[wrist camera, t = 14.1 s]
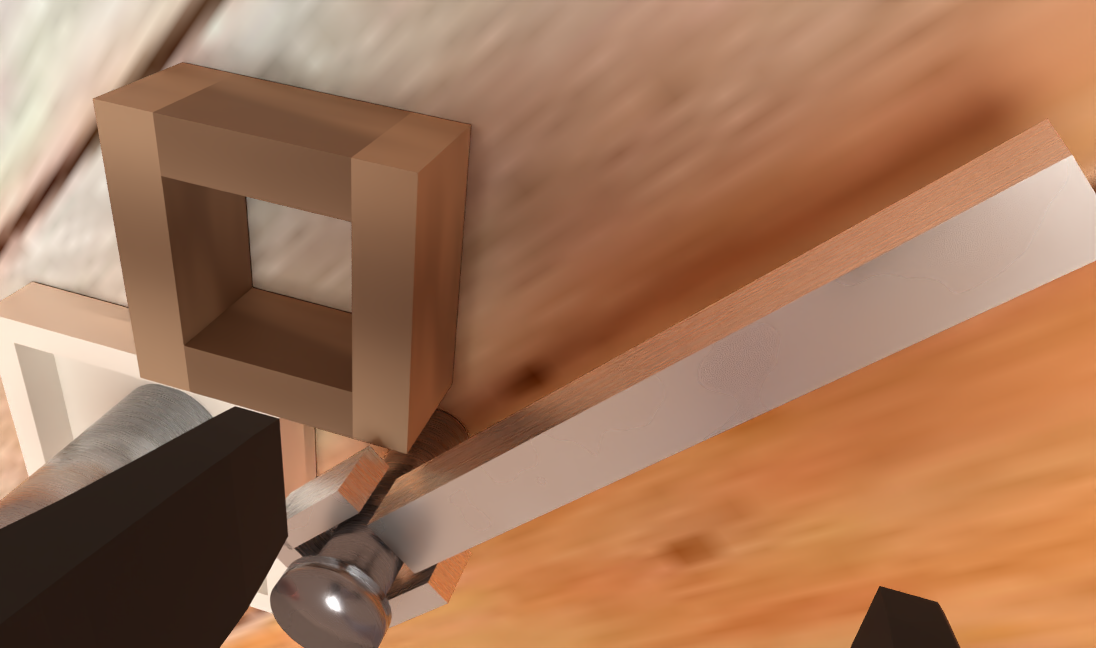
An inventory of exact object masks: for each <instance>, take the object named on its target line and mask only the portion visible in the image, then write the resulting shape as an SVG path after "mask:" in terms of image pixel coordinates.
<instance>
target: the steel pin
mask: <svg viewBox="0 0 1096 648" xmlns="http://www.w3.org/2000/svg"><path fill="white" fill-rule="evenodd" d="M211 418H213V417H212V415H211V414H210V413H209V412H208V411H207V410H206V409H205V408H204V406H202V405H201V404H200V403H199V402H198V401H196V400H195V399H194V398H192V397H191V396H189V395H188V394H186V393H184V392H182V391H180V390H178V389H174V388H171V387H167V386H164V385H160V384H146V385H142V386H140V387H138V388H136V389H134V390H133V391H132V392H131V393H130V394H128V395H127V396H126V397H125V398H124V399H122V400H121V401H120V402H119V403H117V404H116V405H115V406H114V407H113V408H111V409H110V410H109V411H108V412H107V413H105V414H104V415H103V416H102V417H101V418H99V419H98V420H97V421H96V422H95V423H93V424H92V425H91V426H90V427H89V428H87V429H86V430H85V431H84V432H83V433H81V434H80V435H79V436H78V437H77V438H75V439H74V440H73V441H72V442H70V443H69V444H68V445H67V446H66V447H64V448H63V449H62V450H61V451H60V452H58V453H57V454H56V455H55V456H54V457H52V458H51V459H50V460H49V461H48V462H46V463H45V464H44V465H43V466H42V467H40V468H39V469H38V470H37V471H36V472H34V473H33V474H32V475H31V476H29V477H28V478H27V479H26V480H25V481H23V482H22V483H21V484H20V485H19V486H17V487H16V488H15V489H14V490H13V491H11V492H10V493H9V494H8V495H7V496H5V497H4V498H3V499H2V500H1V501H0V529H1V528H3V527H5V526H7V525H9V524H11V523H13V522H15V521H18V520H20V519H22V518H24V517H26V516H28V515H30V514H32V513H34V512H36V511H38V510H40V509H42V508H44V507H46V506H48V505H50V504H52V503H55V502H57V501H59V500H60V499H62V498H64V497H66V496H68V495H70V494H72V493H74V492H76V491H78V490H79V489H81V488H83V487H85V486H87V485H89V484H91V483H93V482H95V481H96V480H98V479H100V478H102V477H104V476H106V475H108V474H110V473H111V472H113V471H115V470H117V469H119V468H121V467H123V466H125V465H126V464H128V463H130V462H132V461H134V460H136V459H138V458H139V457H141V456H143V455H145V454H147V453H149V452H150V451H152V450H154V449H156V448H158V447H160V446H161V445H163V444H165V443H167V442H169V441H170V440H172V439H174V438H176V437H178V436H180V435H181V434H183V433H185V432H187V431H189V430H191V429H192V428H194V427H196V426H198V425H200V424H202V423H203V422H205V421H207V420H209V419H211Z"/></svg>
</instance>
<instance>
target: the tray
mask: <svg viewBox="0 0 1096 648" xmlns="http://www.w3.org/2000/svg"><path fill="white" fill-rule="evenodd" d="M0 375H1V379H2V382H3V386H4V389H5V393H6V397H7V400H8V404H9V407H10V411H11V414H12V418H13V422H14V425H15V429H16V432H17V436H18V440H19V443H20V447H21V450H22V454H23V457H24V461H25V465H26V468H27V472H28V475H29V476H31V475H32V474H33V473H34V472H36V471H37V470H38V469H39V468H40V467H42V466H43V465H44V464H45V463H46V462H48V461H49V460H50V459H51V458H52V457H54V456H55V455H56V454H57V453H58V452H60V451H61V450H62V449H63V448H64V447H66V446H67V445H68V444H69V443H70V442H72V441H73V440H74V439H75V438H77V437H78V436H79V435H80V434H81V433H83V432H84V431H85V430H86V429H87V428H89V427H90V426H91V425H92V424H93V423H95V422H96V421H97V420H98V419H99V418H101V417H102V416H103V415H104V414H105V413H107V412H108V411H109V410H110V409H111V408H113V407H114V406H115V405H116V404H117V403H119V402H120V401H121V400H122V399H124V398H125V397H126V396H127V395H128V394H130V393H131V392H132V391H133V390H134V389H136V388H138V387H140V386H142V385H146V384H160V385H164V384H161V383H157V382H154V381H150V380H147V379H143V378H140V373H139V367H138V361H137V355H136V349H135V343H134V338H133V332H132V326H131V320H130V314H129V308H127V307H123V306H119V305H115V304H112V303H108V302H104V301H101V300H97V299H93V298H90V297H86V296H82V295H79V294H75V293H71V292H68V291H64V290H60V289H57V288H53V287H49V286H46V285H42V284H38V283H35V282H31V283H30V284H28V285H26V286H25V287H23V288H21V289H20V290H18V291H16V292H15V293H13V294H11V295H10V296H8V297H6V298H5V299H3V300H1V301H0ZM164 386H167V387H171V386H168V385H164ZM171 388H174V389H178V388H175V387H171ZM178 390H180V391H182V392H184V393H186V394H188V395H189V396H191V397H192V398H194V399H195V400H196V401H198V402H199V403H200V404H201V405H202V406H204V408H205V409H206V410H207V411H208V412H209V413H210V414H211V415H212V417H215V416H217V415H219V414H221V413H223V412H225V411H227V410H228V409H230V408H232V407H234V406H236V407H240V408H244V407H241V406H237V405H234V404H230V403H227V402H223V401H220V400H216V399H213V398H209V397H206V396H202V395H199V394H195V393H192V392H189V391H185V390H182V389H178ZM244 409H247V410H251V409H248V408H244ZM251 411H254V412H258V411H255V410H251ZM258 413H262V412H258ZM262 414H265V413H262ZM265 415H269V414H265ZM269 416H272V415H269ZM272 417H276V416H272ZM276 418H279V417H276ZM279 419H280V433H281V446H282V459H283V473H284V486H285V499H286V498H287V497H288V496H289V494H290V493H291V492H293V491H295V490H296V489H298V488H300V487H301V486H303V485H305V484H306V483H308V482H310V481H311V480H313V479H315V478H316V453H315V428H314V427H311V426H307V425H304V424H300V423H297V422H293V421H290V420H286V419H283V418H279ZM286 569H287V567H286V566H285V565H284V564H283V563H282V562H281V561H280V560H279V559H278V558H276V560H275V562H274V563H273V565H272V567H271V569H270V571H269V573H268V575H267V576H266V578H265V580H264V581H263V583H262V585H261V587H260V588H259V590H258V592H257V594H256V595H255V597H254V599H253V600H252V602H251V604H250V606H251V607H254V608H257V609H260V610H263V611H266V612H269V613H272V610H271V606H270V595H271V592H272V589H273V588H274V586H275V585H276V583H277V582H278V581H279V579H280V578H281V576H282V575H283V573H284V572H285V571H286ZM272 614H273V613H272Z"/></svg>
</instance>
